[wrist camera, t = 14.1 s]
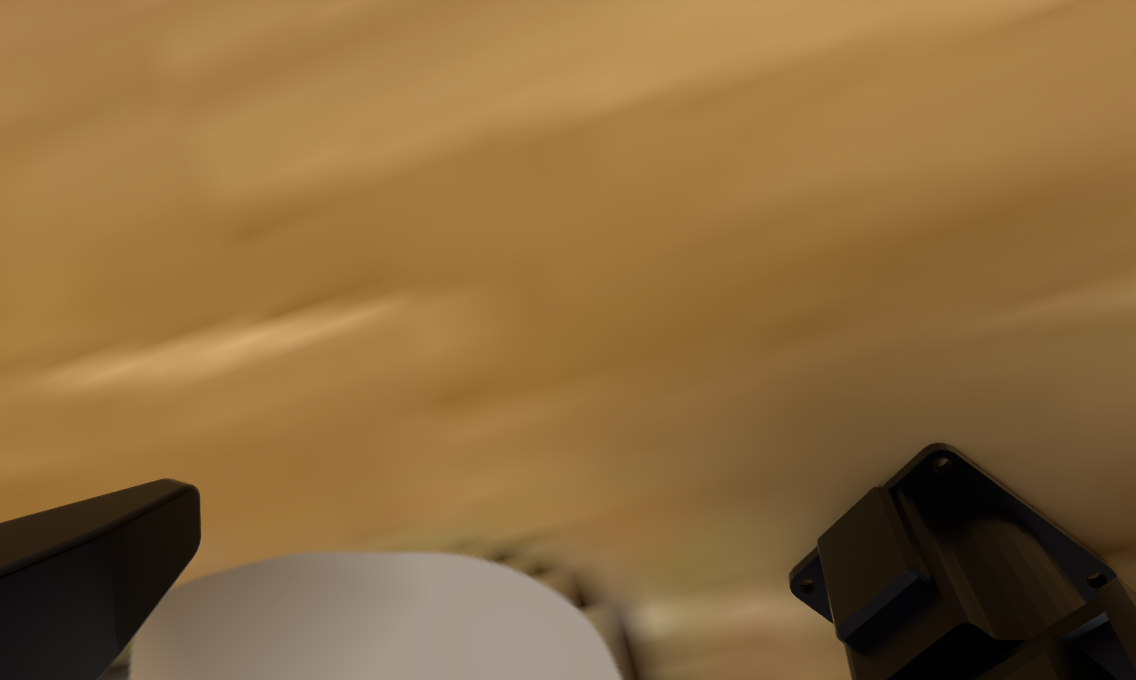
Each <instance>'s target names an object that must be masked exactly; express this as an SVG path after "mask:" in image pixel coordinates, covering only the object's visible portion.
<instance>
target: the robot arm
mask: <svg viewBox="0 0 1136 680" xmlns="http://www.w3.org/2000/svg"><path fill="white" fill-rule="evenodd" d="M943 457H944V458H947V459H948V460H947V462H946V464H945V465H943V466H941V467H934V466H932V463H933V462H934V460H936V459H938V458H943ZM200 540H201V516H200V493H199V491H198V489H197V487H195V486H194V485H192V484H188V483H185V482H181V481H178V480H174V479H168V478H167V479H160V480H157V481H153V482H149V483H145V484H142V485H138V486H134V487H131V488H127V489H123V490H120V491H116V492H112V493H109V494H105V495H101V496H98V497H94V498H90V499H86V500H83V501H79V502H75V503H72V504H68V505H64V506H61V507H57V508H53V509H50V510H46V511H42V512H38V513H35V514H31V515H27V516H24V517H20V518H16V519H13V520H9V521H5V522H2V523H0V680H98V679H99V678H100V677H101V676H102V674H103V673H104V672H105V671H106V670H107V669H108V668H109V666H110V665H111V664H112V663H113V662H114V661H115V659H116V658H117V657H118V656H119V655H120V653H121V652H122V651H123V650H124V648H125V647H126V646H127V645H128V643H129V642H130V641H131V640H132V638H133V637H134V636H135V634H136V633H137V632H138V630H139V629H140V628H141V626H142V625H143V624H144V622H145V621H146V620H147V618H148V617H149V616H150V614H151V613H152V612H153V610H154V609H155V608H156V606H157V605H158V604H159V602H160V601H161V600H162V598H163V597H164V596H165V594H166V593H167V592H168V591H169V589H170V588H171V587H172V585H173V584H174V583H175V581H176V580H177V579H178V577H179V576H180V575H181V573H182V572H183V571H184V569H185V568H186V567H187V565H188V564H189V563H190V561H191V560H192V559H193V557H194V555H195V554H196V552H197V550H198V547H199V545H200ZM817 542H818V546H817V547H816V548H815V549H814V550H813V551H812V552H811V553H810V554H808V555H807V556H806V557H805V558H804V559H803V560H802V561H801V562H800V563H799V564H798V565H796V566H795V567H794V568H793V569H792V571H791V572H790V573H789V585H790V589H791V592H792V593H793V594H794V595H795V596H796V597H797V598H798V599H800V600H801V601H803V602H804V603H805V604H807V605H808V606H809V607H811V608H812V609H814V610H815V611H816V612H818V613H819V614H820V615H822V616H823V617H825V618H826V619H827V620H829V621H830V622H831V623H833V624H834V628H835V633H836V637H837V638H838V639H839V640H840V641H841V642H843V643H844V646H845V651H846V655H847V660H848V664H849V669H850V673H851V678H852V680H1136V593H1135V592H1134V591H1133V590H1132V589H1131V588H1130V587H1129V586H1127V585H1126V584H1125V583H1124V582H1123V581H1122V580H1121V579H1119V578H1118V577H1117V576H1116V574H1115V572H1114V571H1113V570H1112V569H1111V567H1110V566H1109V565H1108V564H1107V563H1106V562H1105V561H1104V560H1103V559H1102V558H1100V557H1099V556H1098V555H1096V554H1095V553H1094V552H1092V551H1091V550H1090V549H1088V548H1087V547H1086V546H1084V545H1083V544H1081V543H1080V542H1079V541H1077V540H1076V539H1075V538H1073V537H1072V536H1071V535H1069V534H1068V533H1067V532H1065V531H1064V530H1063V529H1061V528H1060V527H1059V526H1057V525H1056V524H1055V523H1053V522H1052V521H1051V520H1049V519H1048V518H1046V517H1045V516H1044V515H1042V514H1041V513H1040V512H1038V511H1037V510H1036V509H1034V508H1033V507H1032V506H1030V505H1029V504H1028V503H1026V502H1025V501H1024V500H1022V499H1021V498H1020V497H1018V496H1017V495H1015V494H1014V493H1013V492H1011V491H1010V490H1009V489H1007V488H1006V487H1005V486H1003V485H1002V484H1001V483H999V482H998V481H997V480H995V479H994V478H993V477H991V476H990V475H989V474H987V473H986V472H985V471H983V470H982V469H980V468H979V467H978V466H976V465H975V464H974V463H972V462H971V461H970V460H968V459H967V458H966V457H964V456H963V455H962V454H960V453H959V452H958V451H956V450H955V449H954V448H952V447H951V446H949V445H946V444H943V443H935V444H931V445H929V446H927V447H925V448H924V449H923V450H922V451H921V452H919V453H918V454H917V455H916V456H915V457H914V458H913V459H912V460H911V461H910V462H909V463H907V464H906V465H905V466H904V467H903V468H902V469H901V470H900V471H899V472H898V473H897V474H896V475H894V476H893V477H892V478H891V479H890V480H889V481H888V482H887V483H886V484H885V485H884V486H879V487H874V488H873V489H872V490H870V491H869V492H868V493H867V494H866V495H865V496H864V497H863V498H862V499H861V500H860V501H859V502H857V503H856V504H855V505H854V506H853V507H852V508H851V509H850V510H849V511H848V512H847V513H846V514H844V515H843V516H842V517H841V518H840V519H839V520H838V521H837V522H836V523H835V524H834V525H833V526H831V527H830V528H829V529H828V530H827V531H826V532H825V533H824V534H823V535H822V536H821V537H820V538H819V539H818V541H817ZM1094 573H1100V574H1099V576H1098V577H1096V578H1094V579H1087V578H1088V577H1089V575H1091V574H1094ZM802 580H810V581H813V582H812V584H810V585H802V584H800V583H799V582H800V581H802Z"/></svg>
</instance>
